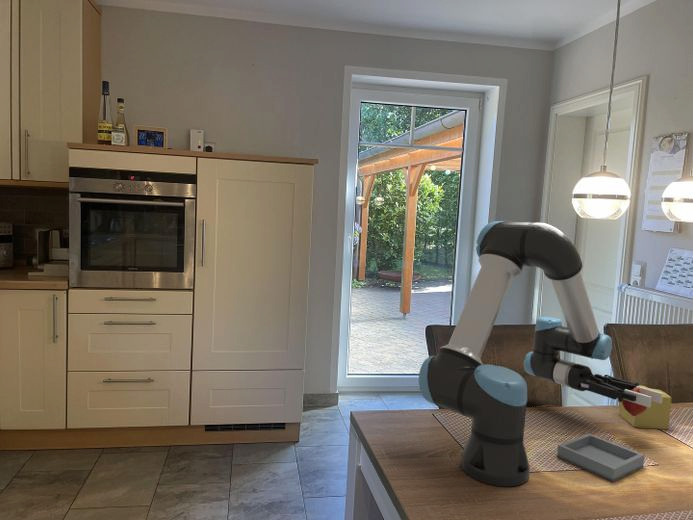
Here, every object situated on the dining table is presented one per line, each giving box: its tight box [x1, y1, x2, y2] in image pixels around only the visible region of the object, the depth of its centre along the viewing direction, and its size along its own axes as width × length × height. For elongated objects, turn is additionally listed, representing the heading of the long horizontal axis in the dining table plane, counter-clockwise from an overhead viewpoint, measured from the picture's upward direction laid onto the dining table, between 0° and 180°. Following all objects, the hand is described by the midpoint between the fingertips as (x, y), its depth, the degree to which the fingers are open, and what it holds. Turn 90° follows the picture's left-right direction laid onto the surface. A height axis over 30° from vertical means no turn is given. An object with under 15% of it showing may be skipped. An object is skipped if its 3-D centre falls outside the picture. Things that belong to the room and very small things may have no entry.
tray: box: [556, 433, 645, 483], centre depth 124 cm, size 14×14×3 cm
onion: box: [622, 387, 647, 416], centre depth 137 cm, size 6×6×8 cm
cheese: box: [618, 384, 672, 430], centre depth 151 cm, size 10×11×10 cm
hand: (655, 400), depth 133 cm, fingers closed on onion, 6 cm apart
